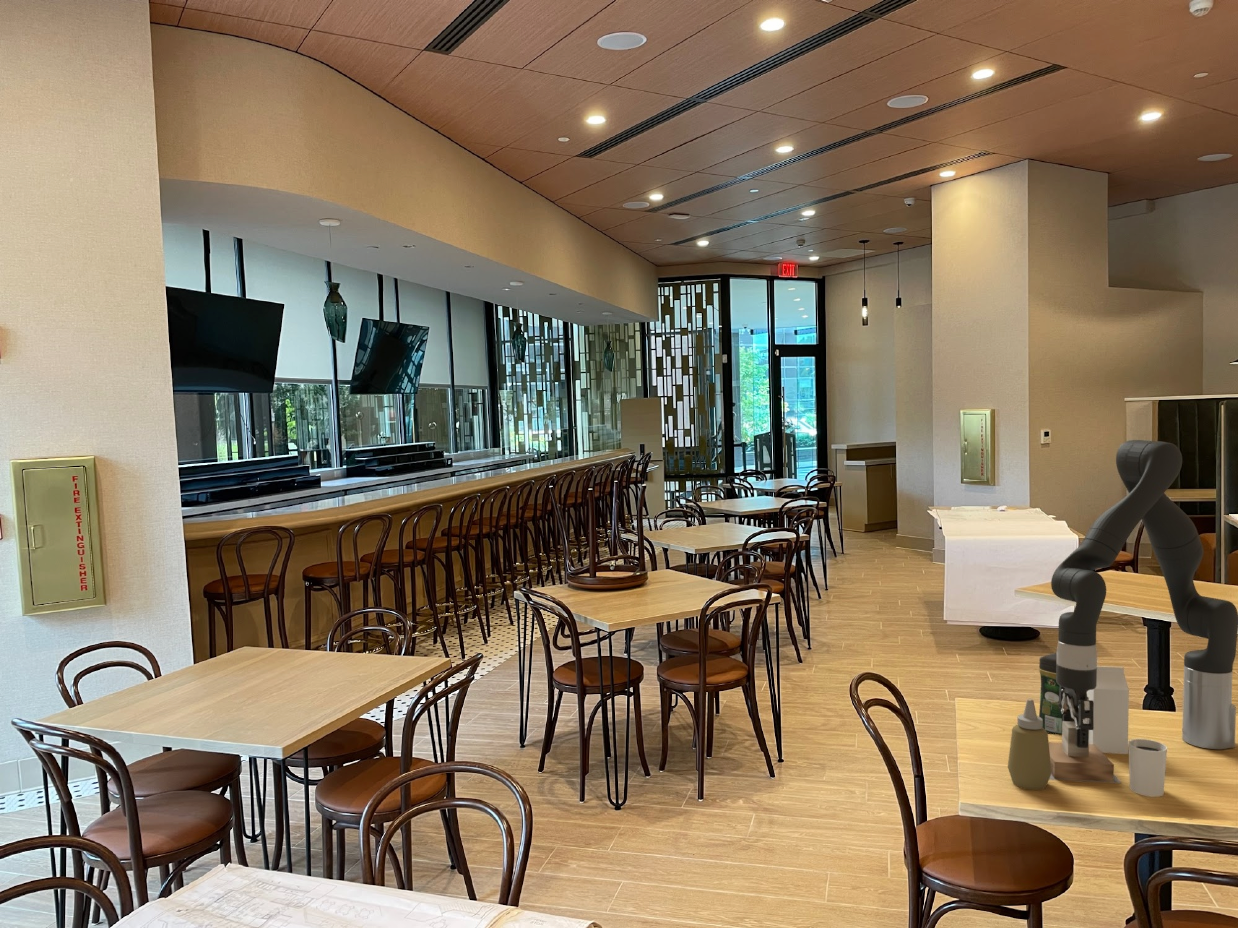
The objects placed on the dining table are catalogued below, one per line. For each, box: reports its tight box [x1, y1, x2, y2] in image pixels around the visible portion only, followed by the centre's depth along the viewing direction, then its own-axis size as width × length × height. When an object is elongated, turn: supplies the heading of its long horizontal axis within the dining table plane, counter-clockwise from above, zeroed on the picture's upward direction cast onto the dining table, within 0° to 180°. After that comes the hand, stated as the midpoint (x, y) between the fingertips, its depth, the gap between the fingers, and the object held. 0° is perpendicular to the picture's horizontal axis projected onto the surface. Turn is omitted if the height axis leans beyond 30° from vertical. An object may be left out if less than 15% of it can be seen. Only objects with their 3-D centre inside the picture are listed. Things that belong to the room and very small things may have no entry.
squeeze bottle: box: [1007, 698, 1052, 791], centre depth 180 cm, size 8×8×18 cm
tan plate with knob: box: [1049, 721, 1115, 782], centre depth 187 cm, size 11×11×10 cm
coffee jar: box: [1038, 651, 1078, 736], centre depth 212 cm, size 10×8×19 cm
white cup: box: [1128, 738, 1168, 798], centre depth 176 cm, size 7×7×10 cm
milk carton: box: [1083, 665, 1130, 755], centre depth 199 cm, size 7×7×19 cm
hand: (1074, 739), depth 187 cm, fingers open, 8 cm apart
